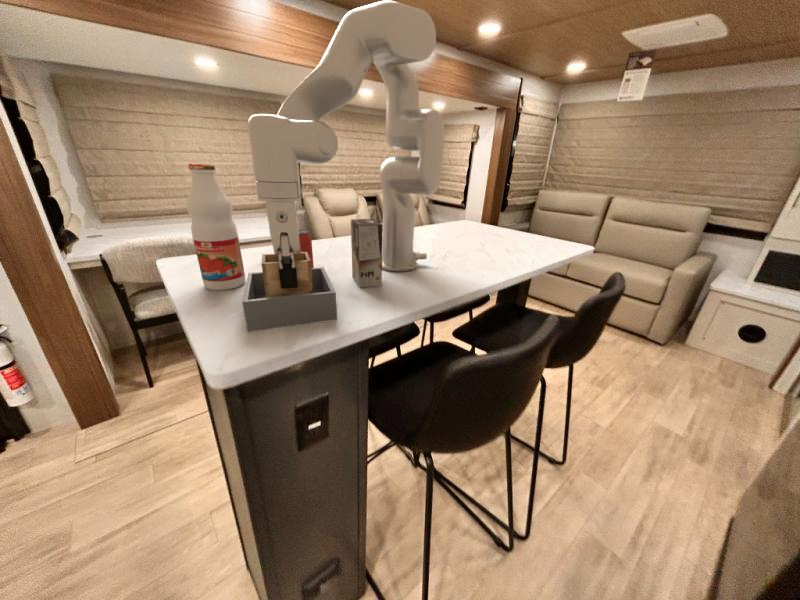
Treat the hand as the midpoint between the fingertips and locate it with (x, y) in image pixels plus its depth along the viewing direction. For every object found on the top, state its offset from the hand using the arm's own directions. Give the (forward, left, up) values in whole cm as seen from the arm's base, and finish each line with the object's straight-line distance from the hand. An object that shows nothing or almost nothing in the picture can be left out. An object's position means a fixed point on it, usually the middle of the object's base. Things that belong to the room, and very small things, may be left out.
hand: (288, 280), depth 65 cm
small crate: (0, 0, -2) cm, 2 cm away
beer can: (-4, -23, -7) cm, 24 cm away
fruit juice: (+15, -19, -7) cm, 25 cm away
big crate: (0, 0, -6) cm, 6 cm away
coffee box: (-20, -12, -7) cm, 24 cm away
